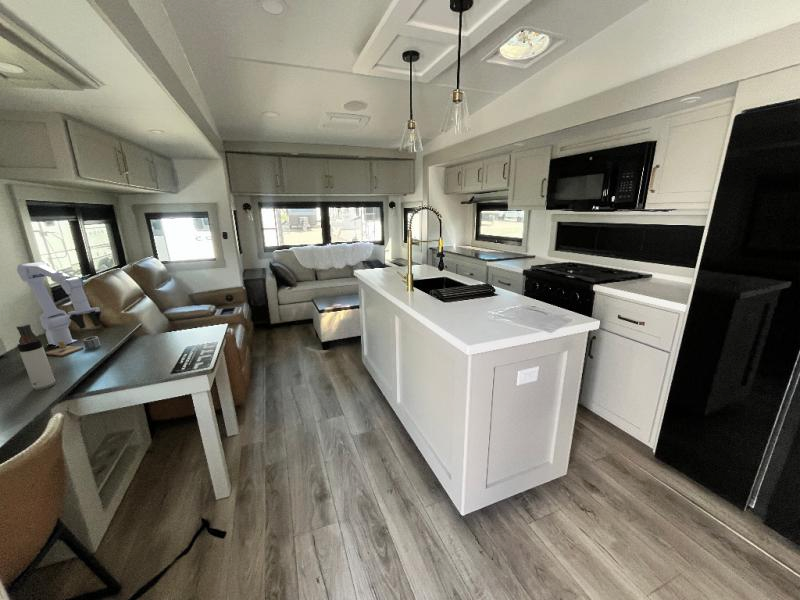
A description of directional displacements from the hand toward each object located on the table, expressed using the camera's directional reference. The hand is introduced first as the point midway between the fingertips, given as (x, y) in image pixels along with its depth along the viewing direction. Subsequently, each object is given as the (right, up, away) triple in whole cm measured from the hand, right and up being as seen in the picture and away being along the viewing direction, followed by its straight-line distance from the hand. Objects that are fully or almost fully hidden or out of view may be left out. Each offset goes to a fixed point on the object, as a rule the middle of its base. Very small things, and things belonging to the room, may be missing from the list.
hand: (90, 326), depth 164 cm
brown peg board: (-12, -13, -1) cm, 18 cm away
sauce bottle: (-10, -17, -15) cm, 24 cm away
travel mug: (+13, -22, -33) cm, 42 cm away
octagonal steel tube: (-2, -11, +4) cm, 12 cm away
